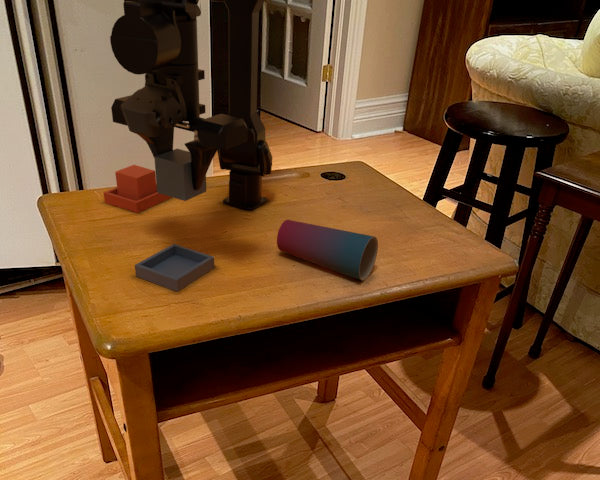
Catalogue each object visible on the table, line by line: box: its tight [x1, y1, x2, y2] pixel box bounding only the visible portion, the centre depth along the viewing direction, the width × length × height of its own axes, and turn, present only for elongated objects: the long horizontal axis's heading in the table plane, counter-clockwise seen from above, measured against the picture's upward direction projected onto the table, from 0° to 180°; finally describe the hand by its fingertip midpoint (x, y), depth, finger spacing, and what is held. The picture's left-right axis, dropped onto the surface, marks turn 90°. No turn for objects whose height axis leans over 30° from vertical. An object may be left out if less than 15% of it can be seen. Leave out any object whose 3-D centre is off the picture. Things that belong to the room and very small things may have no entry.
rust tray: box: [103, 184, 171, 214], centre depth 108 cm, size 9×8×2 cm
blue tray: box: [134, 243, 215, 293], centre depth 88 cm, size 9×8×2 cm
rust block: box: [114, 164, 157, 201], centre depth 107 cm, size 5×5×5 cm
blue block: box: [153, 148, 207, 202], centre depth 83 cm, size 5×5×5 cm
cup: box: [276, 219, 379, 282], centre depth 92 cm, size 7×7×15 cm
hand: (181, 185), depth 84 cm, fingers closed on blue block, 5 cm apart
